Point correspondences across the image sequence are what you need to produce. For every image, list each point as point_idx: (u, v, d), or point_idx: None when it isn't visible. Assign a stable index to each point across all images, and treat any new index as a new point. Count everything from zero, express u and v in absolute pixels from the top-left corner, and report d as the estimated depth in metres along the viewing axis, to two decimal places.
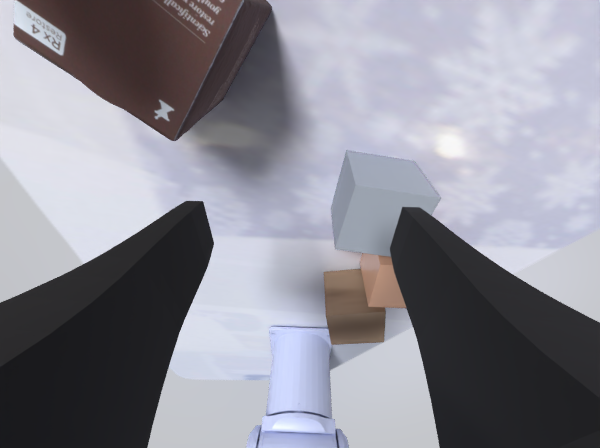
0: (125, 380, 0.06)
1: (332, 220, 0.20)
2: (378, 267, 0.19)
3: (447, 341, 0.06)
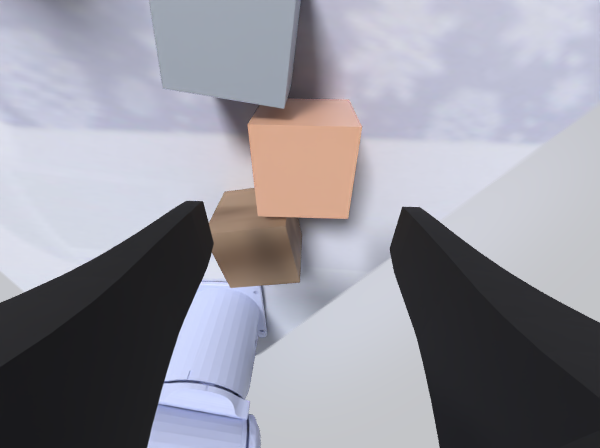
0: (125, 380, 0.06)
1: None
2: None
3: (447, 341, 0.06)
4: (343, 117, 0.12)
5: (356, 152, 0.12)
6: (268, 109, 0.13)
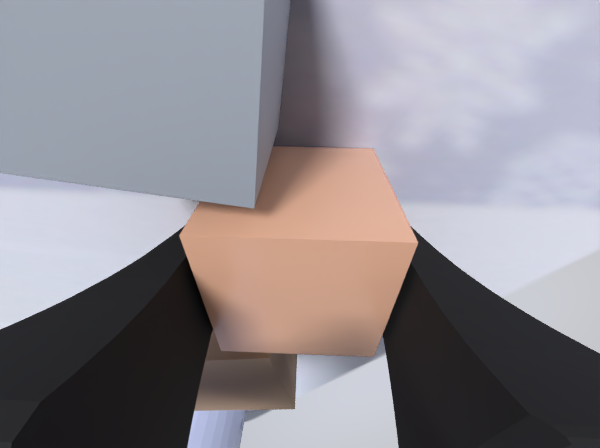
0: (171, 382, 0.06)
1: None
2: None
3: (404, 339, 0.06)
4: (373, 204, 0.07)
5: (400, 279, 0.06)
6: None
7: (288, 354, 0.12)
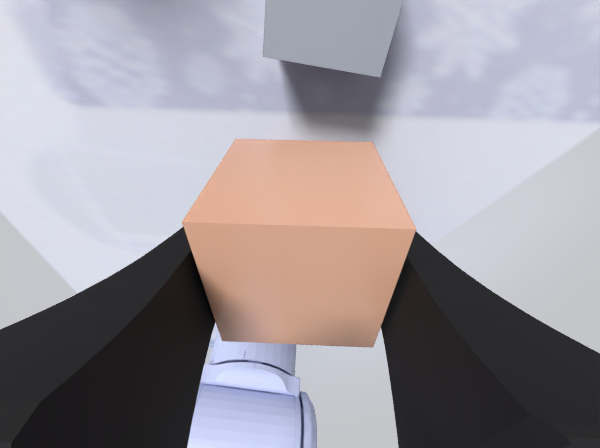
0: (171, 382, 0.06)
1: None
2: None
3: (404, 339, 0.06)
4: (372, 194, 0.07)
5: (399, 266, 0.06)
6: (236, 170, 0.08)
7: None
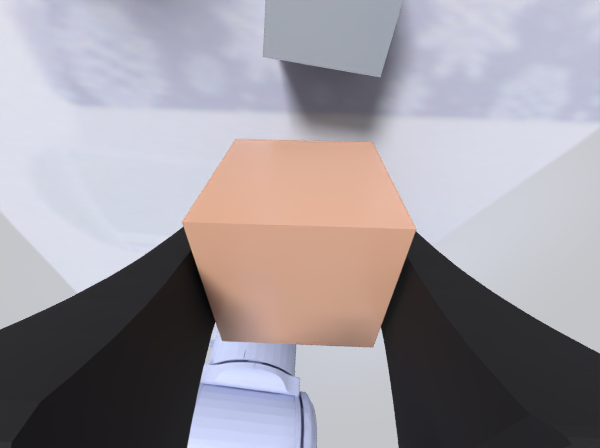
0: (171, 382, 0.06)
1: None
2: None
3: (404, 339, 0.06)
4: (372, 194, 0.07)
5: (399, 266, 0.06)
6: (236, 170, 0.08)
7: None
